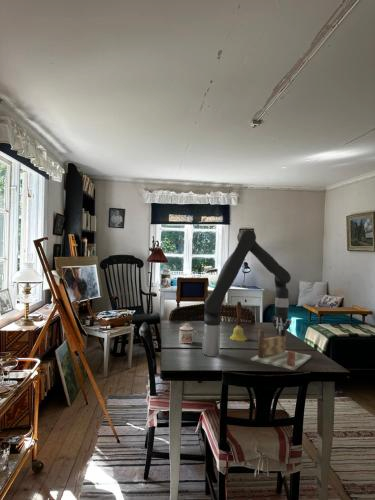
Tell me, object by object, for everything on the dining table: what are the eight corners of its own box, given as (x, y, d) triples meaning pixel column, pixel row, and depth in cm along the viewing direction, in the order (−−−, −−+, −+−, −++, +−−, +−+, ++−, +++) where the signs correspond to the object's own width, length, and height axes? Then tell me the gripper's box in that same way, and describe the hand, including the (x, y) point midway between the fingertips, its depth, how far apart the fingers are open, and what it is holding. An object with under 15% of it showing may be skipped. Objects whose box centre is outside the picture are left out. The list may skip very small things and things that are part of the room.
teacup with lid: (180, 344, 216) (181, 326, 216) (177, 340, 225) (177, 322, 225) (199, 344, 219) (199, 325, 219) (195, 340, 228) (195, 322, 228)
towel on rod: (250, 360, 189) (251, 330, 189) (271, 349, 211) (271, 322, 211) (294, 370, 175) (295, 338, 175) (311, 357, 197) (312, 329, 197)
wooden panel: (264, 356, 192) (265, 329, 192) (261, 355, 194) (262, 328, 194) (285, 351, 201) (286, 326, 201) (282, 350, 203) (282, 325, 203)
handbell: (248, 337, 238) (249, 301, 238) (245, 342, 227) (246, 303, 227) (231, 335, 242) (232, 300, 242) (227, 340, 231) (228, 302, 231)
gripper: (268, 304, 204) (267, 333, 204) (286, 308, 193) (285, 339, 193) (277, 303, 209) (276, 332, 209) (295, 307, 197) (294, 337, 197)
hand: (280, 335), depth 201 cm, fingers closed on wooden panel, 2 cm apart
